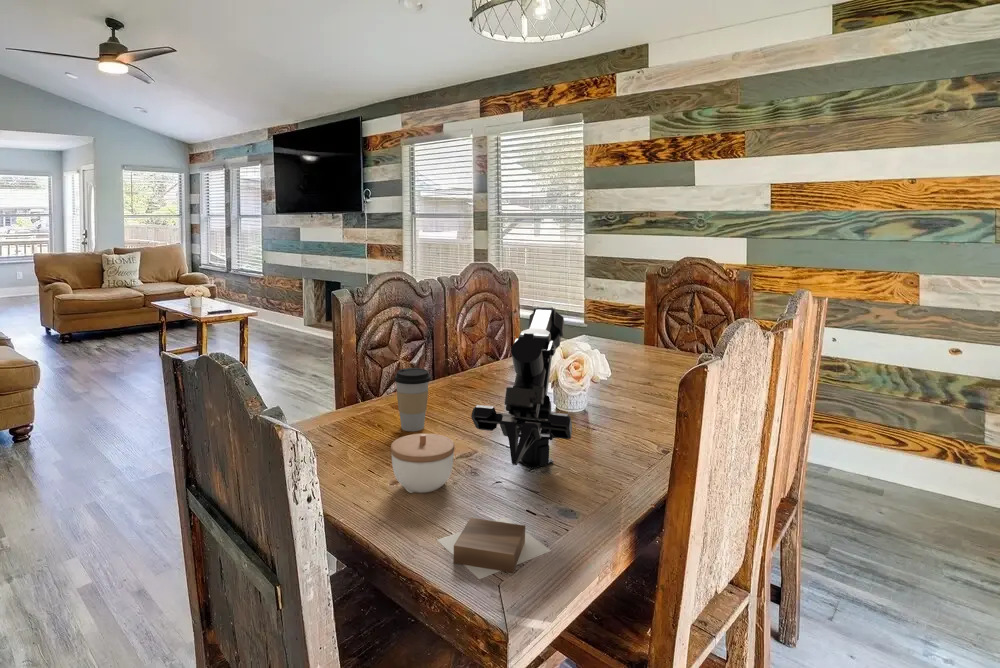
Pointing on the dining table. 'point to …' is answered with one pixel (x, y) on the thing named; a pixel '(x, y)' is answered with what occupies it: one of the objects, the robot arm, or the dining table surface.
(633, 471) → the dining table surface
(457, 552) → the walnut slab
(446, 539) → the felt mat
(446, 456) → the lidded bowl
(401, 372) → the coffee cup
